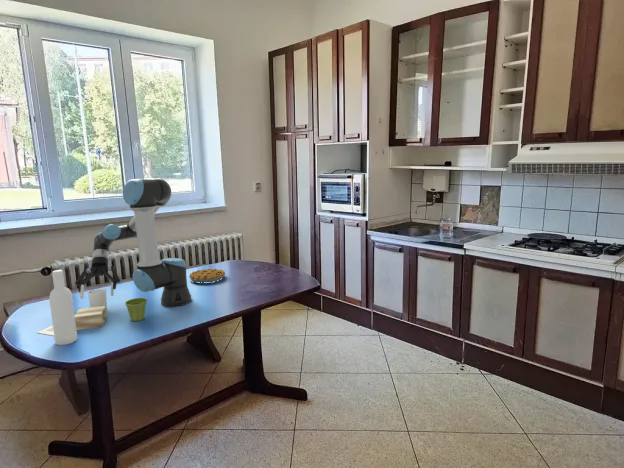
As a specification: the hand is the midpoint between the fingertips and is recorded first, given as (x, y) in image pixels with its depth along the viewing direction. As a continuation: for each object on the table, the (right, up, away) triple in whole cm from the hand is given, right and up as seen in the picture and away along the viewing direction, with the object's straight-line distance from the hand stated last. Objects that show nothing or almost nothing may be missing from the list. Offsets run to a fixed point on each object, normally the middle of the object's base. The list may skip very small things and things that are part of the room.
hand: (96, 296), depth 194 cm
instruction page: (-5, -11, -23) cm, 26 cm away
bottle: (+6, -13, -33) cm, 36 cm away
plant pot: (+25, -9, -11) cm, 29 cm away
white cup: (+1, -7, 0) cm, 7 cm away
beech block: (+6, -10, -16) cm, 20 cm away
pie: (+42, +2, +50) cm, 65 cm away
